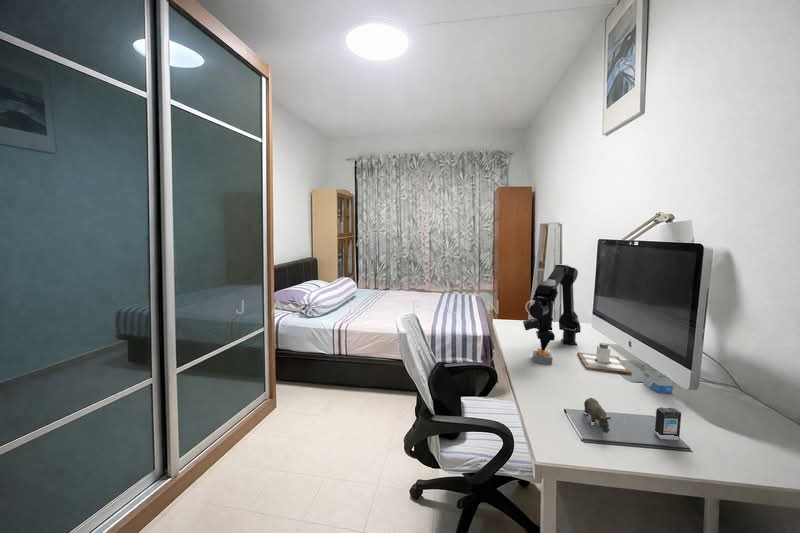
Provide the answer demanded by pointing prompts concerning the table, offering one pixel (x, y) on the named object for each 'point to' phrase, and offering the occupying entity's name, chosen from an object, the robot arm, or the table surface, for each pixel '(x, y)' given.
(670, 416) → the ink cartridge
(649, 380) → the ink box
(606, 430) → the grey animal figure
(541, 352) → the button
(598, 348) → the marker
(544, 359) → the button housing
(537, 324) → the robot arm
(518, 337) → the table surface
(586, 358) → the wooden picture frame
